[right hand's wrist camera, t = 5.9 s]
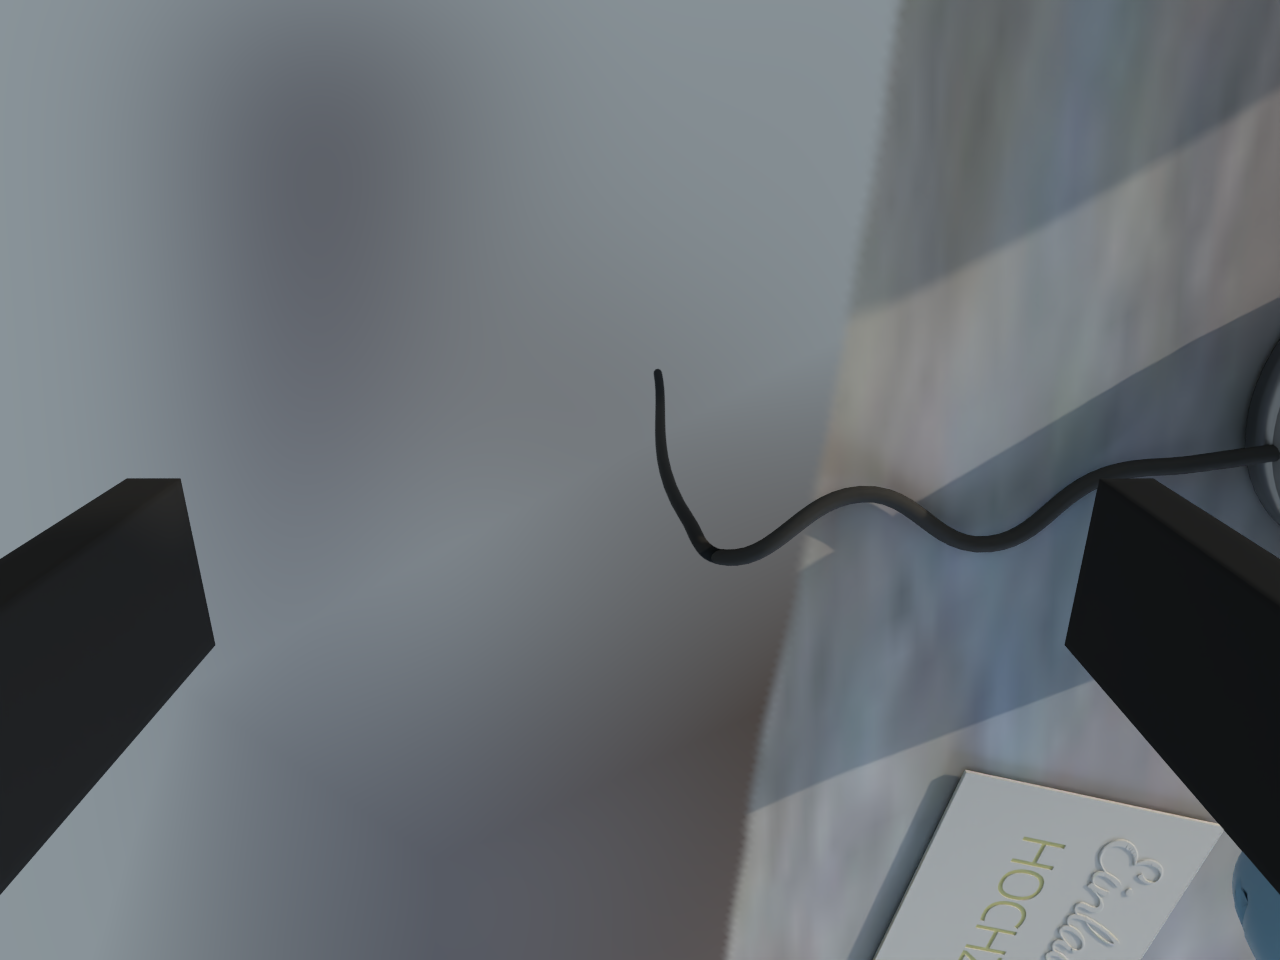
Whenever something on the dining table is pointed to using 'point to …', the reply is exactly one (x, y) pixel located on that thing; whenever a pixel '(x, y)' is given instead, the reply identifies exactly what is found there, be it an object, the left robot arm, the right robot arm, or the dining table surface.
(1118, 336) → the dining table surface
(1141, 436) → the dining table surface
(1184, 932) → the dining table surface
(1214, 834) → the invitation card
